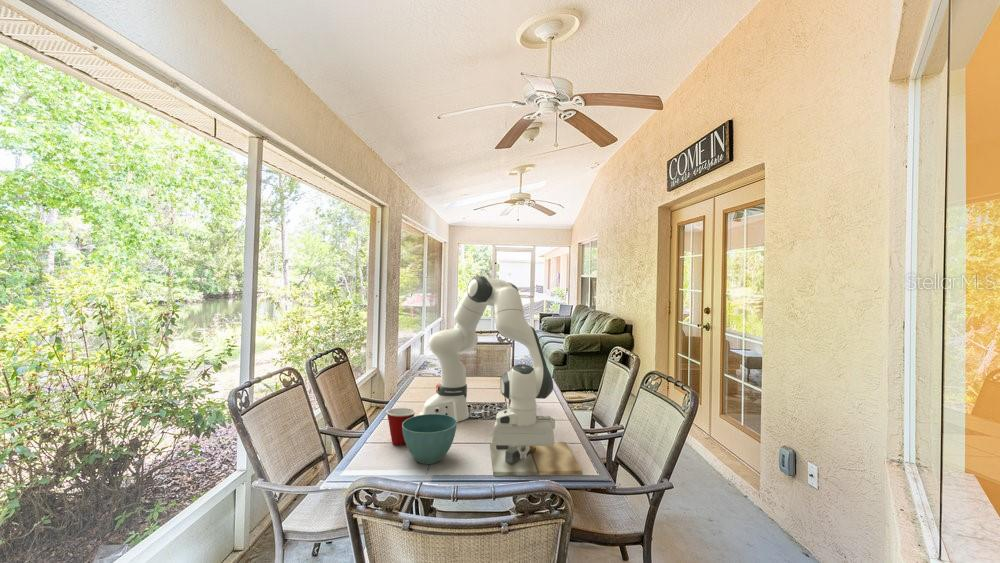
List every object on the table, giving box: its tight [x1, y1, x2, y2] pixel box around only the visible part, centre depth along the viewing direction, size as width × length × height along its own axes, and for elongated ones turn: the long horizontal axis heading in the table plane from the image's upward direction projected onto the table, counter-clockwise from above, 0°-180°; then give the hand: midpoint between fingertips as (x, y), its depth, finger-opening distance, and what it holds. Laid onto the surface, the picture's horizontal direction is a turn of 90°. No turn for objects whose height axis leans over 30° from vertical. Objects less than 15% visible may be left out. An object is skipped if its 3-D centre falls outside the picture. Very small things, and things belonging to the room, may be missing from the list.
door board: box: [489, 441, 583, 477], centre depth 136 cm, size 28×22×1 cm
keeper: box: [496, 445, 508, 449], centre depth 143 cm, size 4×3×3 cm
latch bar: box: [505, 446, 536, 464], centre depth 136 cm, size 15×4×4 cm, turn 142°
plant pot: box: [402, 414, 458, 465], centre depth 136 cm, size 18×18×12 cm
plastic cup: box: [385, 407, 417, 447], centre depth 149 cm, size 11×11×12 cm
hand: (523, 458), depth 131 cm, fingers closed
